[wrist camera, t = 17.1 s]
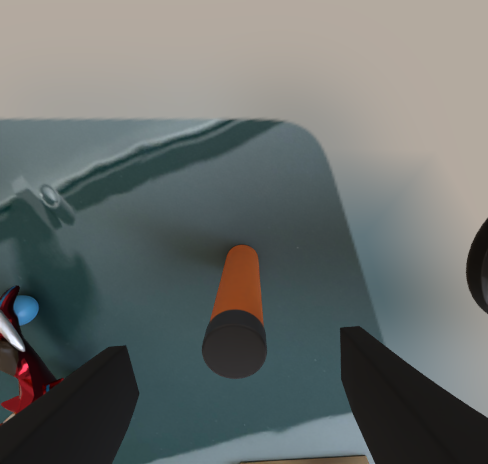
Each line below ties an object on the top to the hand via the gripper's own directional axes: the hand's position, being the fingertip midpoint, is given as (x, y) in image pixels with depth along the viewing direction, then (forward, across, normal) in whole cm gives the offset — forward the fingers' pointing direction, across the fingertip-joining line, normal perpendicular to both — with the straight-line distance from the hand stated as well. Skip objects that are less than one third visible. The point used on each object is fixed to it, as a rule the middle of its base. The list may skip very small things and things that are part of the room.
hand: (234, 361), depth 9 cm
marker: (+9, 0, 0) cm, 9 cm away
